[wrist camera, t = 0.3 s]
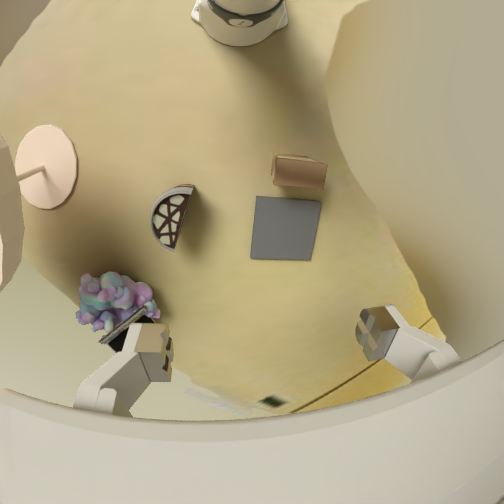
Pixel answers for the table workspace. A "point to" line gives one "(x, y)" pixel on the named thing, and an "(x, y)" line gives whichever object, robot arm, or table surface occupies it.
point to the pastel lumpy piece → (115, 306)
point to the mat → (284, 228)
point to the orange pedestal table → (32, 186)
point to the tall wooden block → (298, 171)
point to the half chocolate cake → (170, 215)
